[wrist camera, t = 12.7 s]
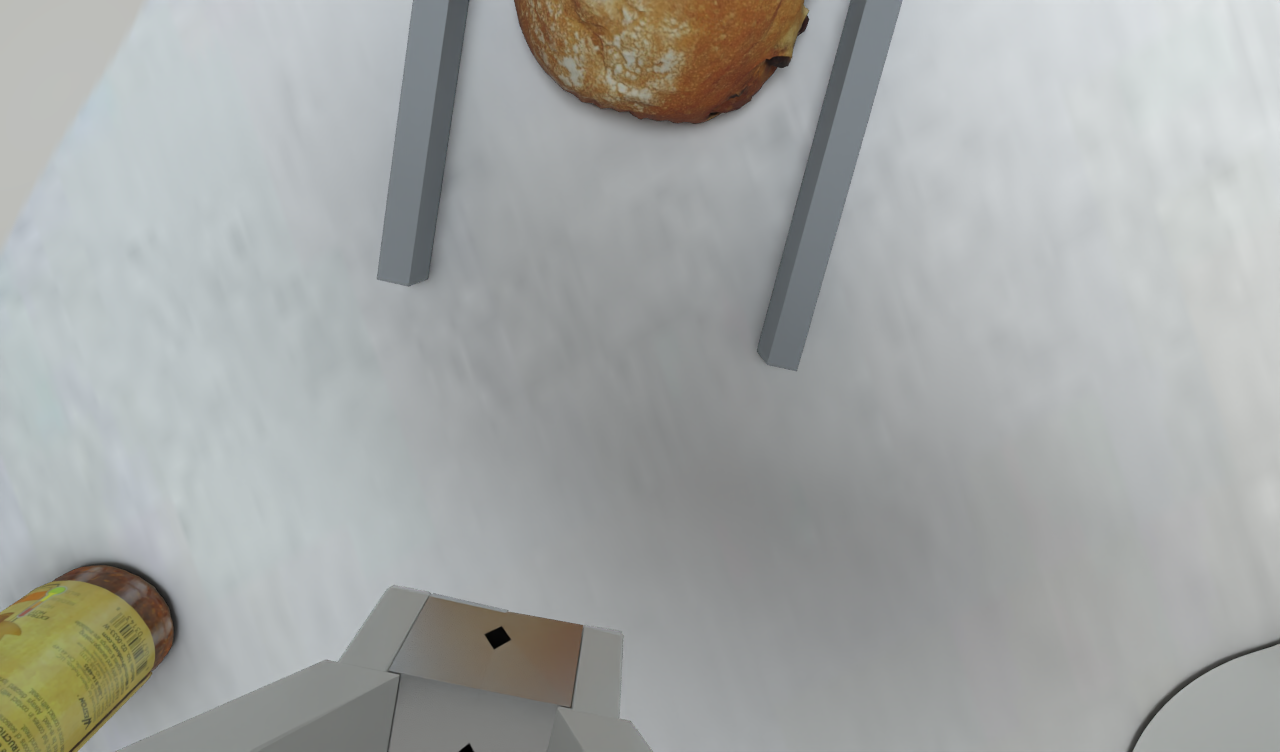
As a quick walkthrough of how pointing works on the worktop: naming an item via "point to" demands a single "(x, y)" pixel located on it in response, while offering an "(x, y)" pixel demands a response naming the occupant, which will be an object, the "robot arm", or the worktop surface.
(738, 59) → the bread roll
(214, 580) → the worktop surface
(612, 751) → the robot arm
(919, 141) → the worktop surface
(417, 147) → the slate bay
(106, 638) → the sauce bottle
